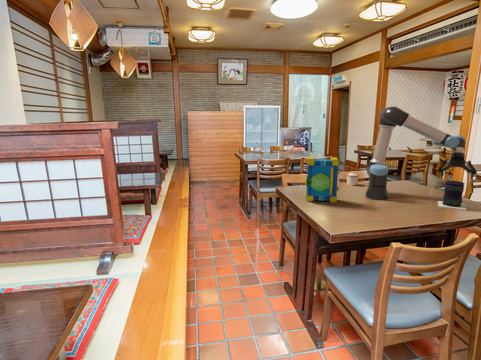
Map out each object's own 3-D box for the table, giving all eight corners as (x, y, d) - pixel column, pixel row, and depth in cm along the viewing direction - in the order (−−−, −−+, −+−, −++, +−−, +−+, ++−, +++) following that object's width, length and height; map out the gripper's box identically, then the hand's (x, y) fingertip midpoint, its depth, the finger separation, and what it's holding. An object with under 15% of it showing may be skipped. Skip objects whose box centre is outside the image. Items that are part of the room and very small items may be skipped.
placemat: (438, 207, 178) (438, 206, 178) (437, 202, 190) (437, 200, 190) (466, 211, 171) (466, 209, 171) (463, 205, 182) (464, 203, 182)
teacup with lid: (360, 185, 242) (361, 172, 240) (352, 186, 239) (353, 173, 236) (349, 182, 253) (350, 170, 251) (341, 183, 250) (342, 170, 247)
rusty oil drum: (465, 207, 175) (468, 183, 172) (449, 207, 176) (452, 184, 173) (453, 202, 185) (456, 180, 182) (438, 202, 185) (441, 180, 182)
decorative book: (304, 197, 207) (305, 156, 201) (337, 198, 202) (339, 157, 196) (304, 202, 193) (306, 159, 187) (339, 204, 189) (342, 159, 183)
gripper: (480, 160, 185) (479, 186, 176) (434, 157, 199) (432, 182, 190) (482, 152, 180) (482, 179, 171) (436, 150, 193) (433, 175, 184)
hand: (456, 181), depth 180 cm, fingers open, 13 cm apart
